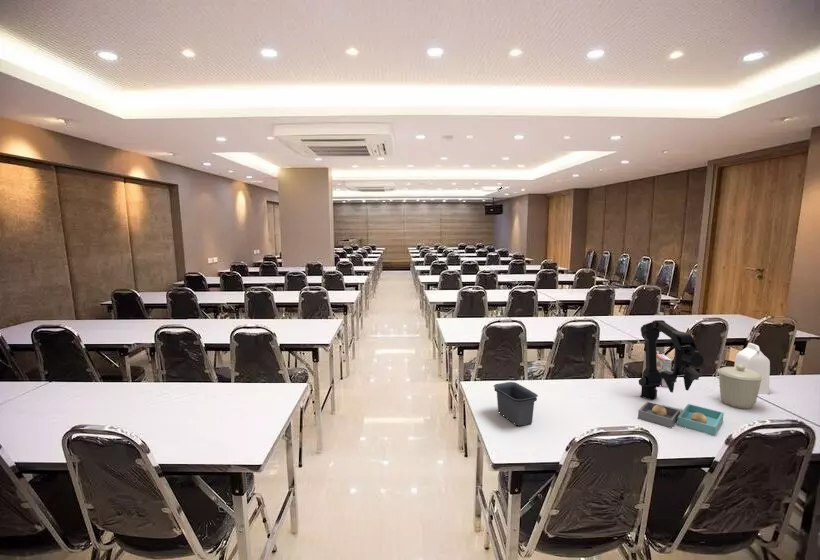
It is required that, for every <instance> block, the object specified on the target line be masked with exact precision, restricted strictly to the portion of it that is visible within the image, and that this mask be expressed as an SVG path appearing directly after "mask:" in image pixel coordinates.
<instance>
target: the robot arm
mask: <svg viewBox="0 0 820 560" xmlns="http://www.w3.org/2000/svg"><path fill="white" fill-rule="evenodd" d="M640 333H641V334H640V335H641V337H642V338H643V340H644V341H645V343H644V344H645V345H644V347H645V369H644V370H643V372H642V377H641V378H639V379H638V385H639V386H641V390H640V391H641V392H640V395H639V396H640V398H643V399H648V400H652V401H654V400H655V399H657V397H658V389H657V388H661V386H660V384H661V381H662V378H663V379H664V380H665V382H666V384H667V386H668V387H667V388H668V390H669V392H670V393H674V388H675V383H676V382H677V379H678V377H681V376H682V377H683V383H684V390H685V391H689V390H690V387H691V386H692V383H694V381H699V378H701V377H703V373H704V372H703V369H702V368H701V367H700V366H702V365H703V363H704V360H705V359H704V357H703V356H702V355H701V354H700V353H701V352H700V351H698V348H697V347H698V346H697V343H696V342H695V341H694V340H695V339H694V337H693V336H692V335H691V334H690V333H689V332H685V331H679V330H678V329H676V328H675V327H673V326H671V324H668V323H667V322H666V321H665V320H662V319H656V320H652V321H651V322H647V323H645V324H643V325H642V326H640ZM660 333H663V334H664V335H666V336H667V337H668V338H669V339H670V341H671V343H672V344H673V345H672V346H671V348H672V349H674V356H673V359H671V360H672V364H673V367H672V369H671V372H670V371H662V372H660V373H659V371H658V370H657V359H656V354H657V341H658V340H659V338H660ZM692 366H693V367H692ZM661 377H662V378H661Z"/></svg>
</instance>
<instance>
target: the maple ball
mask: <svg viewBox="0 0 820 560" xmlns="http://www.w3.org/2000/svg"><path fill="white" fill-rule="evenodd" d="M661 405H662V404H659V405H655V406H654V407H653V408H652V413H653V414H655V415H659V416H663V417H665V416H666V414H667V411H666V409H665V408H664V407H663V406H661Z"/></svg>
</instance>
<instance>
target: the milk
mask: <svg viewBox="0 0 820 560" xmlns="http://www.w3.org/2000/svg"><path fill="white" fill-rule="evenodd" d="M739 364H740V365H743V366H744V367H745V369H749V370H752V371H755V372H757V373H759V374H760V375H762V376H763V380H761V384H760V388H759V392H758V395H770V373H771V361H770V359H769V358H768V357H767V356H766V355H764V353H763V352H762V351H761V349H760V346H759V345H757V344H756V343H752V342H748V344H747V346H746V347H745V348H743V349H741V350H740V351H739V352H737V353H736V354H735V360H734V366H733V367H736V365H739Z"/></svg>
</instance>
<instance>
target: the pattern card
mask: <svg viewBox="0 0 820 560" xmlns="http://www.w3.org/2000/svg"><path fill="white" fill-rule="evenodd" d="M661 405H662V406H666V407H670V408H674V409H678V410H680V414H681V412H682V411H683V410H684V409H682V408H677V407H674V406H669V405H666V404H661Z"/></svg>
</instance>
